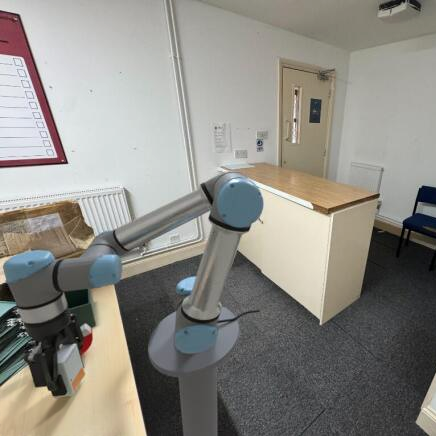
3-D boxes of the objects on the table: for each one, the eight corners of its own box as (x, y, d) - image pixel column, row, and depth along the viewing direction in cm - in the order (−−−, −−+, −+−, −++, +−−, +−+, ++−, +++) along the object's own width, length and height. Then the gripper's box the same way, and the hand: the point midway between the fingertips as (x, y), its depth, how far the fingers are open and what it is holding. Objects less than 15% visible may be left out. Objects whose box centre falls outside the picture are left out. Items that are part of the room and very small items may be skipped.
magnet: (43, 371, 68) (34, 345, 64) (45, 364, 70) (36, 338, 66) (96, 351, 75) (90, 327, 72) (95, 345, 77) (90, 321, 74)
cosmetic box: (73, 395, 62) (62, 363, 57) (54, 399, 60) (40, 366, 56) (86, 373, 67) (77, 342, 63) (68, 376, 66) (57, 345, 62)
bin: (95, 325, 84) (90, 303, 81) (56, 338, 78) (49, 315, 75) (94, 303, 94) (89, 282, 91) (59, 313, 88) (52, 291, 84)
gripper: (57, 288, 63) (77, 351, 71) (-15, 349, 46) (21, 424, 53) (89, 287, 65) (105, 349, 73) (30, 346, 47) (59, 419, 55)
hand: (69, 381), depth 63 cm, fingers closed on cosmetic box, 6 cm apart
